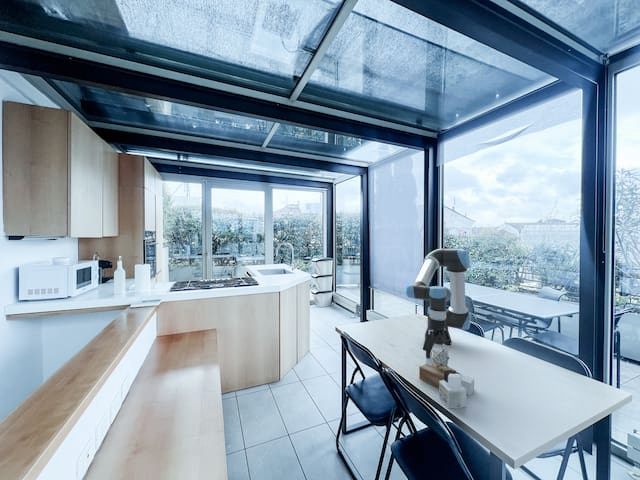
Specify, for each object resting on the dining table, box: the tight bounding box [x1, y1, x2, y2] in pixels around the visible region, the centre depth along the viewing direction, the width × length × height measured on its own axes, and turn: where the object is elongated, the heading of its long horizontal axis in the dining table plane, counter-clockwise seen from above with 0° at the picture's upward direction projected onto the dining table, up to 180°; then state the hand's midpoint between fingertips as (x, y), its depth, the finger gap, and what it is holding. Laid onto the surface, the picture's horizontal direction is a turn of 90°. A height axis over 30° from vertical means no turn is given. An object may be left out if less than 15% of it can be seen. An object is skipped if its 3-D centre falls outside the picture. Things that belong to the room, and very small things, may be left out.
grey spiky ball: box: [432, 348, 450, 368], centre depth 129 cm, size 9×8×10 cm
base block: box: [418, 361, 457, 390], centre depth 129 cm, size 12×12×6 cm
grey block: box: [459, 373, 475, 397], centre depth 120 cm, size 6×6×6 cm
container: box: [438, 370, 467, 409], centre depth 112 cm, size 8×8×13 cm
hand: (437, 361), depth 129 cm, fingers open, 13 cm apart
